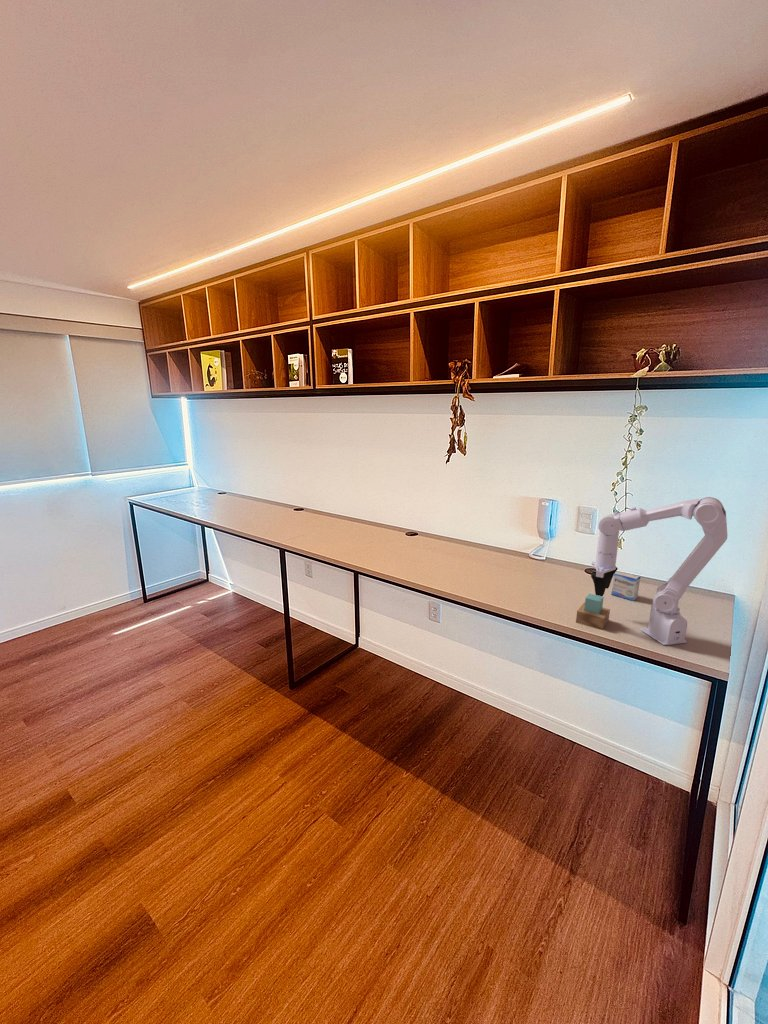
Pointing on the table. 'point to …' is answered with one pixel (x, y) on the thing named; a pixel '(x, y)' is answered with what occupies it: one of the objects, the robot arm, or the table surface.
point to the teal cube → (593, 603)
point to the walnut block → (593, 617)
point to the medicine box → (625, 585)
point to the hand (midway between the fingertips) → (602, 591)
